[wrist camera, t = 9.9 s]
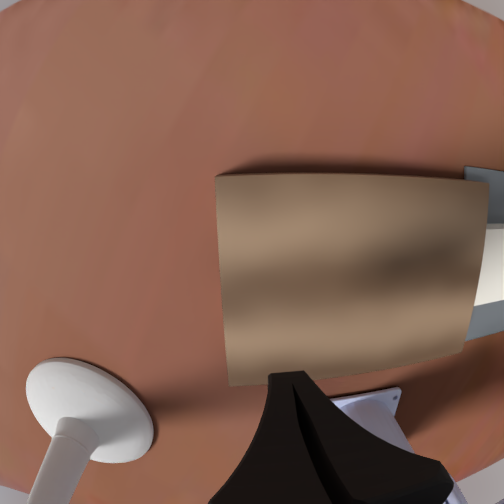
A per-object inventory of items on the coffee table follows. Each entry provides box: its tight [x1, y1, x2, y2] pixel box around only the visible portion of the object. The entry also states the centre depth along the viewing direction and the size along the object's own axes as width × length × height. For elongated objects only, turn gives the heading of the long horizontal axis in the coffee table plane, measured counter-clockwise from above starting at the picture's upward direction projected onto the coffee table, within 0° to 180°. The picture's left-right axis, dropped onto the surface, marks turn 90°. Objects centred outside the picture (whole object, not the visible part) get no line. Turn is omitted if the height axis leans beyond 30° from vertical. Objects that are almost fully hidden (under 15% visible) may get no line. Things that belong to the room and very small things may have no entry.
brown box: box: [215, 173, 489, 386], centre depth 20 cm, size 13×18×3 cm
